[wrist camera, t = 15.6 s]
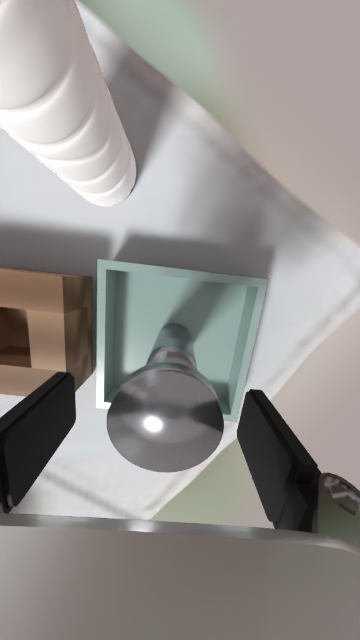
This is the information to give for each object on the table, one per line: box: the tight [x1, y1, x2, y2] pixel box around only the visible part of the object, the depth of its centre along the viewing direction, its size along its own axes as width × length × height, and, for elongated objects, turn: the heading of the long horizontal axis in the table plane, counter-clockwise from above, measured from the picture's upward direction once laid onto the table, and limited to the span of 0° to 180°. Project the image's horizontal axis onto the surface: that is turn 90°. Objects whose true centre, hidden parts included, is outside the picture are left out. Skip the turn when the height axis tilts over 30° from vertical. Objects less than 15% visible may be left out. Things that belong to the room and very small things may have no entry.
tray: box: [96, 259, 269, 422], centre depth 19 cm, size 16×16×4 cm
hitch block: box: [0, 266, 92, 397], centre depth 18 cm, size 12×12×5 cm
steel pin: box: [107, 323, 224, 472], centre depth 14 cm, size 6×6×12 cm
